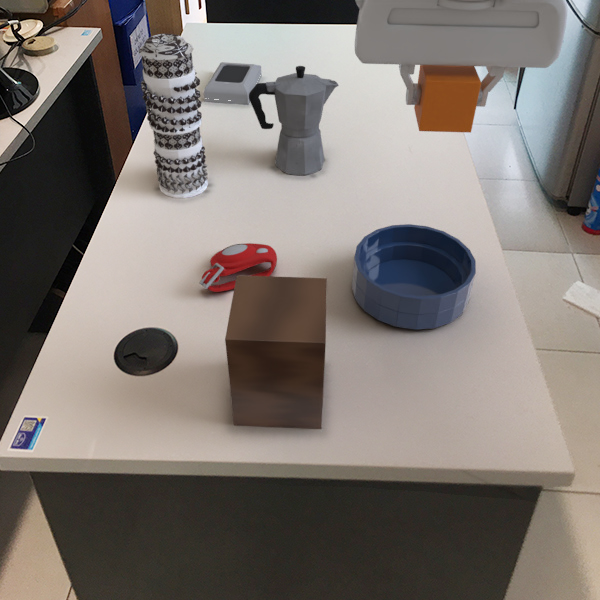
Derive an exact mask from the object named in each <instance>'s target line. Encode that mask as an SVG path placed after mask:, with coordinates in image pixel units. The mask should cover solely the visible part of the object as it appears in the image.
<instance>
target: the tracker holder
mask: <svg viewBox="0 0 600 600" xmlns="http://www.w3.org/2000/svg"><path fill="white" fill-rule="evenodd" d="M209 262H210V265H211V268H209V269H207V270H205V272H204V273H203V275H202V276H201V280H200V281H199V285H200V286H202V287H203V288H204V289H206V290H209V291H210V292H213V293H219V292H224V291H230V290H234V288H235V282H236V279H234V280H230V281H227V282H224V283H219V284H215V283H218V282H220V277H227V276H231V275H234V274H236V273H239V272H241V271H244V270H247V269H249V268H252V267H254V266H257V265H260V264H265V263H270V267H269V268H267V269H265V270H263V271H260V272H256V273H253V274H250V275H249V276H272V274H273V273H274V270H275V268H276V266H277V262H278V255H277V252H276V250H275V249H274V248H273V247H272V246H270V245H268V244H264V243H250V242H249V243H236V244H232V245H229V246H227V247H225V248H223V249H222V250H220V251H218V252H216V253H215V254H214V255H213V256H211V258H210V261H209ZM213 283H214V284H213Z"/></svg>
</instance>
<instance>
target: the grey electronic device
mask: <svg viewBox="0 0 600 600" xmlns="http://www.w3.org/2000/svg"><path fill="white" fill-rule="evenodd" d="M260 75H261V76H260ZM259 77H260V78H259ZM258 79H259V80H258ZM261 80H262V65H259V64H255V63H242V62H241V63H240V62H239V63H238V62H225V61H223V62H220V63H219V65H218V67H216V70H214V72H213V74H212V76H211V77H210V79H209V80H208V82H207V84H206V85H205V87H204V89H203V100H204V102H207V103H218V104H219V103H221V104H234V105H247V106H248V105H249V104H250V103H251V102H250V100H249V93H250V92H251V90H252V89H253V88H254V87H255V86H256V83H257V84H258V83H260V81H261ZM257 81H258V82H257ZM204 98H207V99H204ZM208 98H209V99H208ZM214 99H219V100H214ZM228 100H231V101H228Z"/></svg>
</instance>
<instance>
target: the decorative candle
mask: <svg viewBox="0 0 600 600" xmlns="http://www.w3.org/2000/svg"><path fill="white" fill-rule="evenodd" d="M193 51H194V47H193V45H192V43H188V42H187V41H186V39H185V38H184V37H183V36H181V35H178V34H175V33H159V34H155V35H151V36H150V37H148V38H147V39H146V40H145V42H144V43H143V45H142V46H140V48H139V49H138V54H139V55H140V56H141V62H142V68H143V69H142V77H143V80H141V82H140V85H141V88H140V89H141V91H142V94H143V95H142V99H143V100H144V104H145V112H146V113H147V116H146V119H147V121H148V125H149V128H150V129H151V130H152V132H153V137H154V139H153V145H154V151H153V152H152V153H153V156H154V158H155V160H154V163H155V164H156V168H155V172H156V174H157V181H158V184H159V185H158V187H159V190H160V192H161V193H162V194H164V195H165V196H167V197H171V198H174V199H189V198H193V197H196V196H198V195H201V194H203V192H205V191H206V190H207V188H208V186H209V181H208V174H209V173H208V172H207V167H208V165H207V164H206V159H207V158H206V157H207V156H206V154H205V152H206V151H205V150H206V148H205V146H204V145H203V137H202V135H201V129H200V128H201V126H202V125H201V124H202V122H203V119H202V112H201V111H199V109H200V108H201V107H202V101H201V100H200V98H201V91H200V90H198V89H197V87H199V86H200V85H201V79H200V78H199V77H197V76H196V75H197V74H198V72H197V71H196V68H195V66H194V61H193Z"/></svg>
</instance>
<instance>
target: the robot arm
mask: <svg viewBox="0 0 600 600" xmlns="http://www.w3.org/2000/svg"><path fill="white" fill-rule="evenodd" d="M354 1H355V4H356V6H357V7H358V9H359V11H358V15H357V21H356V27H355V34H354V54H355V56H356V57H357V59H358V60H359V62H361V63H362V64H365V65H366V64H367V65H398V69H399V74H400V77H401V78H402V81H403V83H404V86H405V88H406V90H405V104H406V105H407V106H415V105H420V101H421V99H420V98H421V94H422V88H421V84H418V82H415V83H414V81H413V79H412V77H411V75H414V74H415V69H416V66H420V65H443V66H474V67H485V68H486V70H487V74H486V75H485V76H484V78H483V79H482V80H481V86H480V91H479V96H478V101H477V106H476V108H479V107H481V108H482V107H483V108H484V107H486V105H487V100H488V96H489V93H490V92H491V91H492V90H493V89H494V88H495V87H496V85H497V84H498V83H499V82H500V81H501V80H502V78H503V77H504V73H505V70H506V68H528V69H529V68H536V69H547V68H549V67H550V66H551V65H552V64H554V63H555V62H556V61H557V60H558V58H559V56H560V54H561V50H562V47H563V43H564V39H565V33H566V28H567V27H566V26H567V20H568V3H567V0H354Z"/></svg>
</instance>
